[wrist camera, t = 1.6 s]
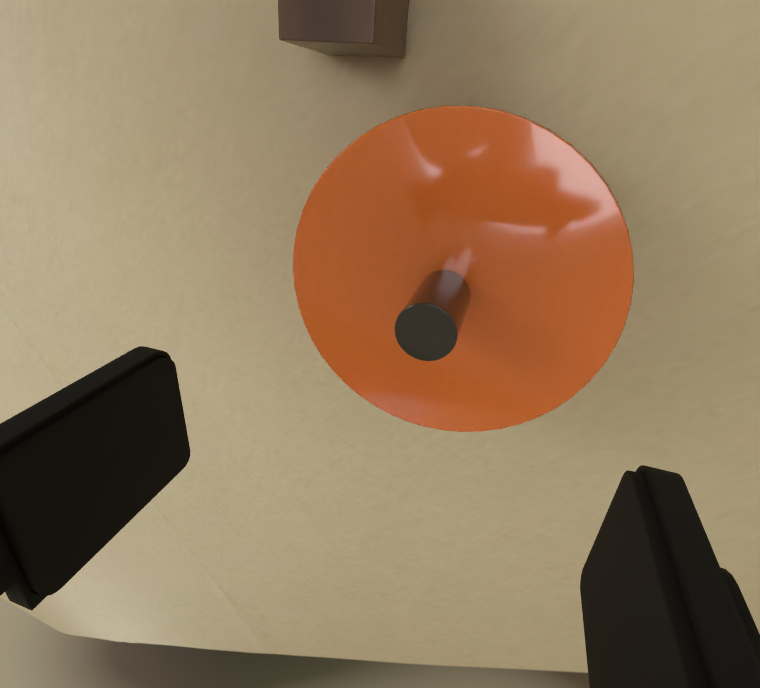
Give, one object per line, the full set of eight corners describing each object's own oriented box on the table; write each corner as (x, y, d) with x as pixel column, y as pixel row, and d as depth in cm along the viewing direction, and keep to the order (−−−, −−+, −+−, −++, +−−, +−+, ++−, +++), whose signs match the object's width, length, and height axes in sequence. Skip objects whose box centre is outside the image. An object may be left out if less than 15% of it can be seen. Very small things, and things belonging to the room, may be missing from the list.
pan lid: (304, 385, 28) (257, 440, 24) (299, 93, 21) (228, 86, 16) (572, 449, 25) (582, 530, 20) (689, 122, 17) (752, 124, 12)
